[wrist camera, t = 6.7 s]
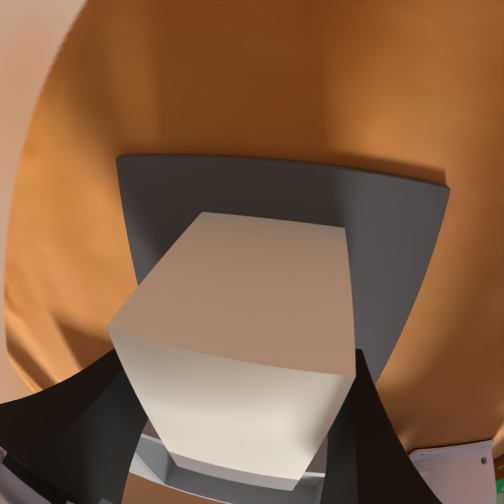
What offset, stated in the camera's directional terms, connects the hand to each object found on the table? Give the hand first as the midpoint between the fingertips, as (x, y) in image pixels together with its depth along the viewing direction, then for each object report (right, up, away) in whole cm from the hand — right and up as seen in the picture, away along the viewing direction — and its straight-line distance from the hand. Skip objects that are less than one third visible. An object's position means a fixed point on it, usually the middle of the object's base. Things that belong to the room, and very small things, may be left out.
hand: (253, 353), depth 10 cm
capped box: (+1, +1, +2) cm, 3 cm away
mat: (+1, +1, +2) cm, 3 cm away
